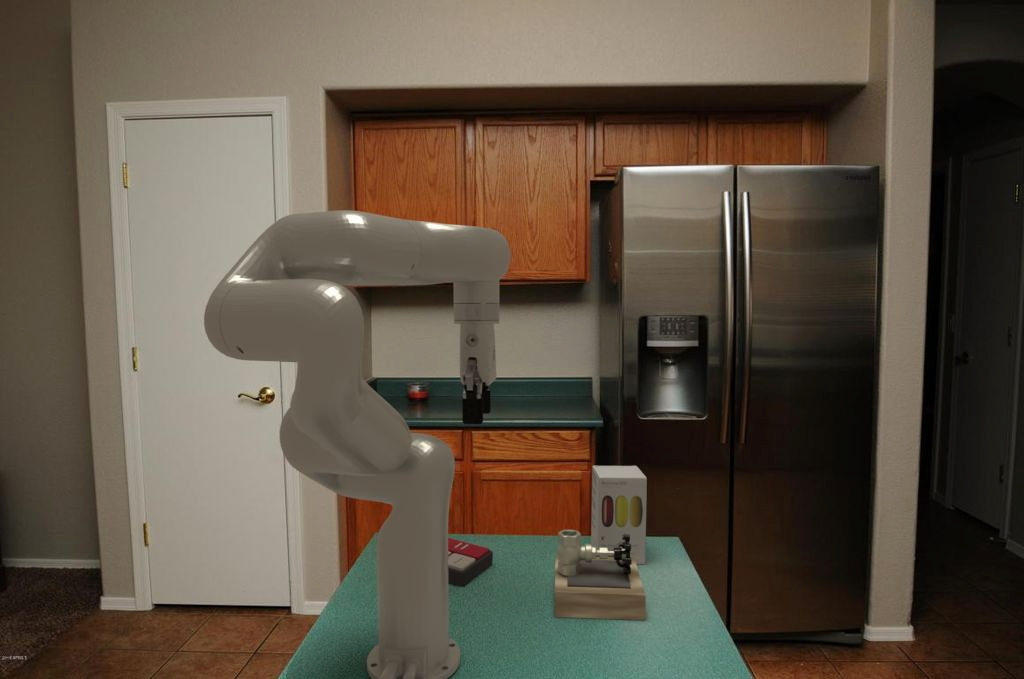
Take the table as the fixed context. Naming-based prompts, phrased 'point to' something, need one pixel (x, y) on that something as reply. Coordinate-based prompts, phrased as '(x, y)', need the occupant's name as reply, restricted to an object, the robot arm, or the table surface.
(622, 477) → the supplement box
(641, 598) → the tapered tan tray
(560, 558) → the valve
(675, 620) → the table surface
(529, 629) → the table surface
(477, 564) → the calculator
